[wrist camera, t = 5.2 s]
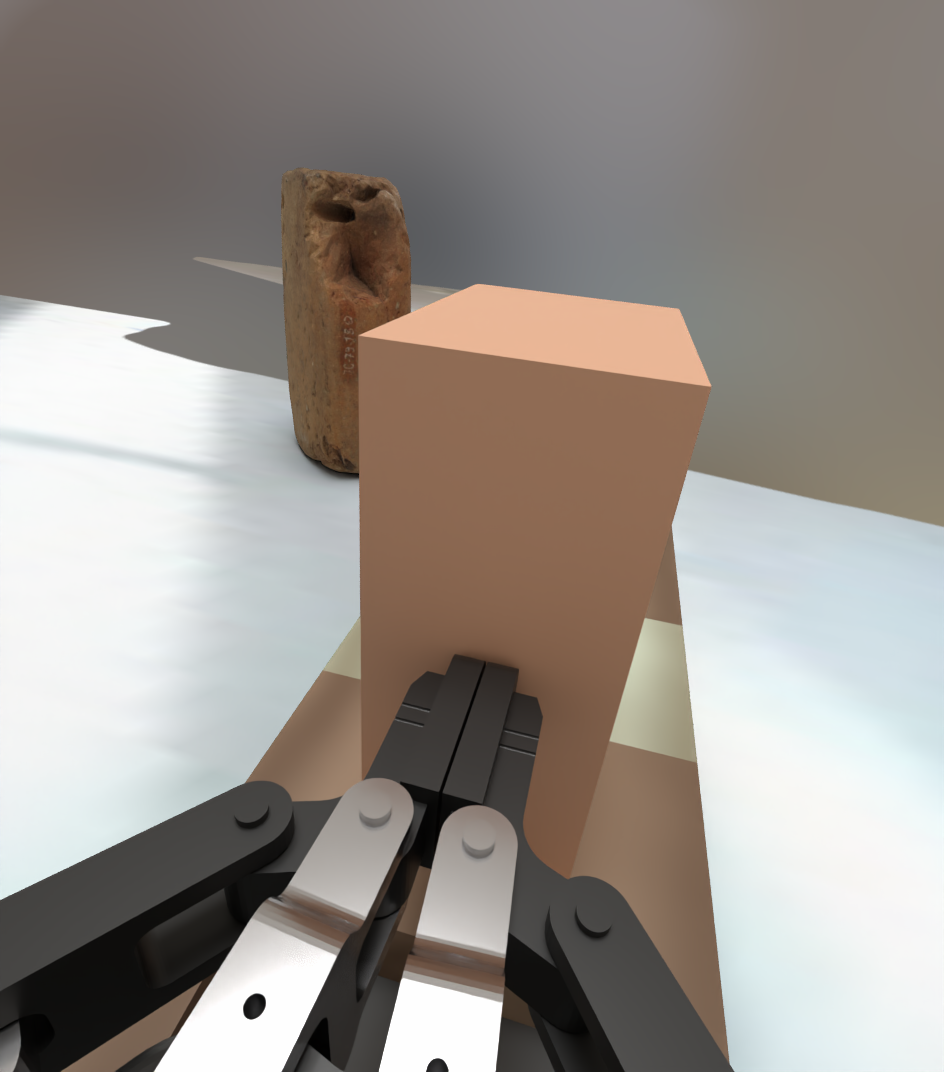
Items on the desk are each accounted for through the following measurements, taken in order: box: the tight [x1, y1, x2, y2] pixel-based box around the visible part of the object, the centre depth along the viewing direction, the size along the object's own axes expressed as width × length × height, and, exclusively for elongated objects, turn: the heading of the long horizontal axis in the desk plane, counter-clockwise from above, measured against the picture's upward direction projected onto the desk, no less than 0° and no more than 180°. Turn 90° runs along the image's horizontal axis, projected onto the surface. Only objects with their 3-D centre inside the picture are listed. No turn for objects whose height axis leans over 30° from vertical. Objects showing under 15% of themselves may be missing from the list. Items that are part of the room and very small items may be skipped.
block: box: [281, 168, 411, 473], centre depth 44 cm, size 11×8×20 cm
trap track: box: [61, 525, 729, 1072], centre depth 22 cm, size 14×38×3 cm, turn 166°
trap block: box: [358, 284, 711, 879], centre depth 17 cm, size 6×9×14 cm, turn 166°
